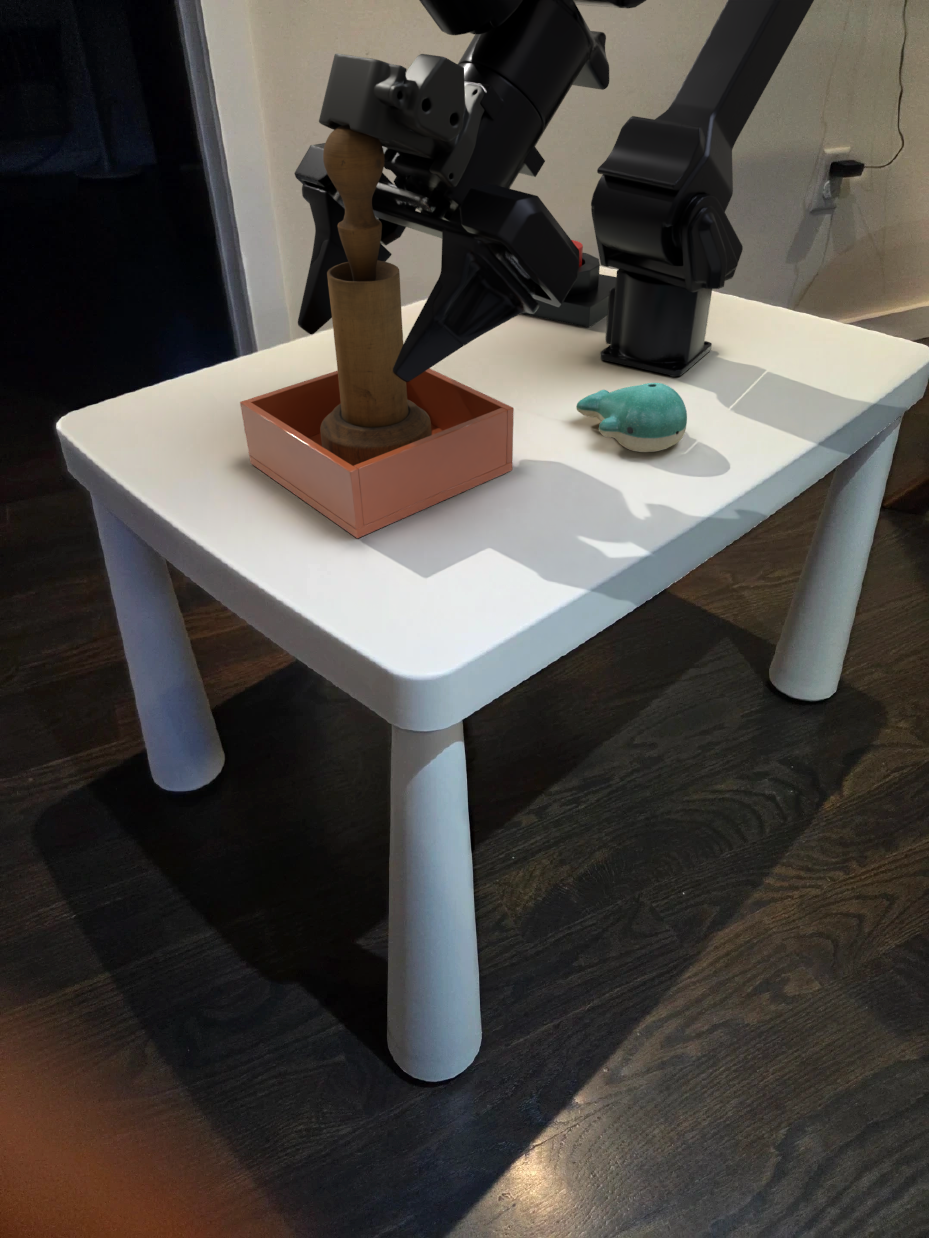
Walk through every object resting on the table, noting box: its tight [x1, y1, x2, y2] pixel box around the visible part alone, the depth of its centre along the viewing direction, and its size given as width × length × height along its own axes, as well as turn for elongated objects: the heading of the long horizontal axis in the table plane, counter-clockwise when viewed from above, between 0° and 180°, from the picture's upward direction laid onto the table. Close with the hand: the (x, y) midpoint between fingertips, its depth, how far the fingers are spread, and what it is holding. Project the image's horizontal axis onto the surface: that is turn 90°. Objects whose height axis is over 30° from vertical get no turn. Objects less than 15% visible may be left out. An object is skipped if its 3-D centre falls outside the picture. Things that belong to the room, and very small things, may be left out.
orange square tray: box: [239, 368, 515, 539], centre depth 55 cm, size 12×12×4 cm
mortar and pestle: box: [320, 125, 432, 466], centre depth 50 cm, size 7×6×18 cm
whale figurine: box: [575, 382, 688, 453], centre depth 58 cm, size 6×7×4 cm
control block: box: [520, 252, 616, 329], centre depth 78 cm, size 10×8×4 cm
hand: (349, 352), depth 51 cm, fingers open, 9 cm apart
